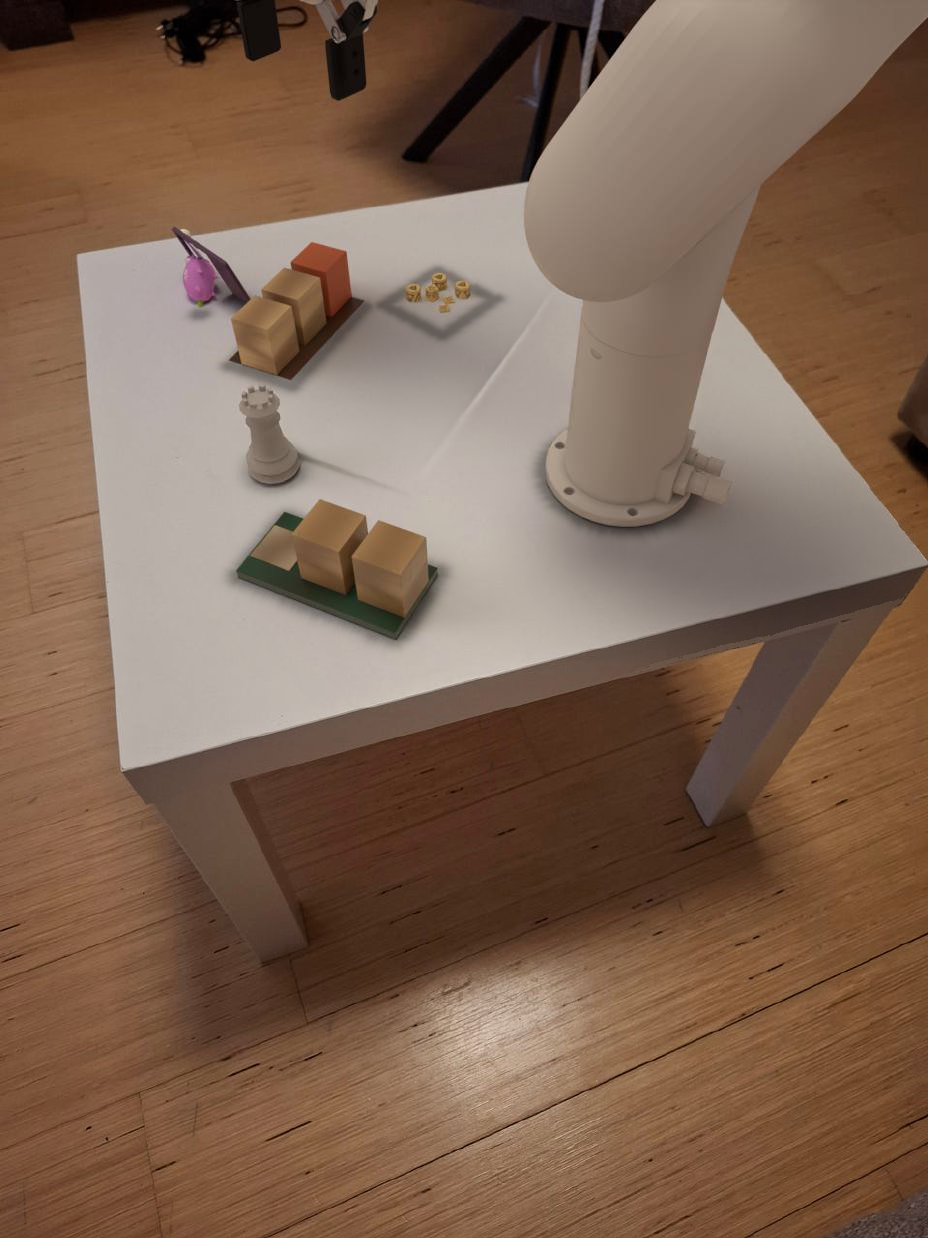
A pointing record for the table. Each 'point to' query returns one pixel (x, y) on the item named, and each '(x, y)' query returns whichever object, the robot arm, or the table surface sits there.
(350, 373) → the table surface
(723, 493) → the robot arm
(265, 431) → the rook chess piece
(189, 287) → the dragon fruit figure
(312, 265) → the orange upright block
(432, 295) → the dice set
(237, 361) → the far board with cubes
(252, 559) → the green board with cubes
